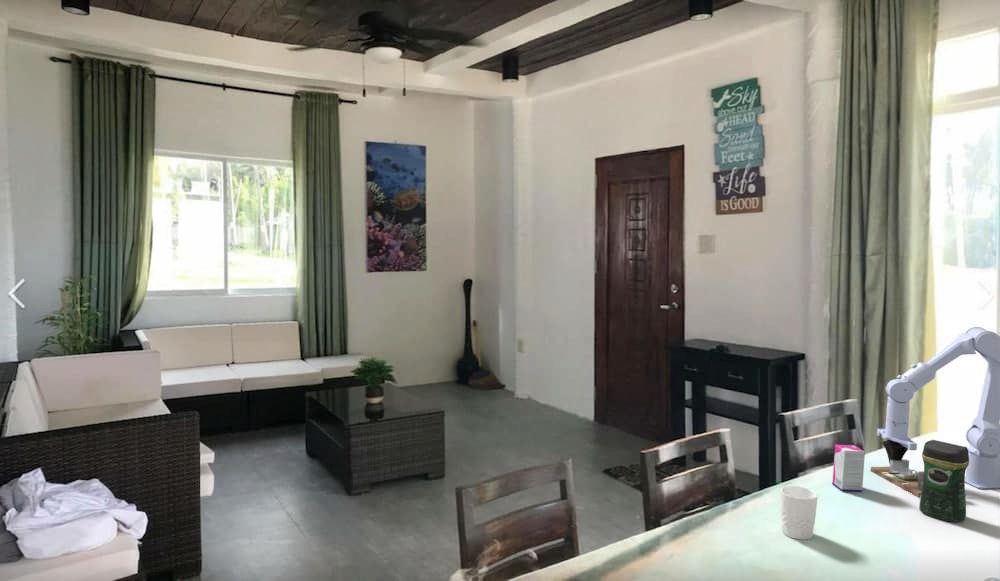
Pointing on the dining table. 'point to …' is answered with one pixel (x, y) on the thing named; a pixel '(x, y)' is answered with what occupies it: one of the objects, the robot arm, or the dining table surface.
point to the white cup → (798, 512)
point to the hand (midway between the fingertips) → (894, 466)
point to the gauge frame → (901, 480)
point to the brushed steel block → (902, 469)
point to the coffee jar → (944, 480)
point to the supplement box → (848, 468)
